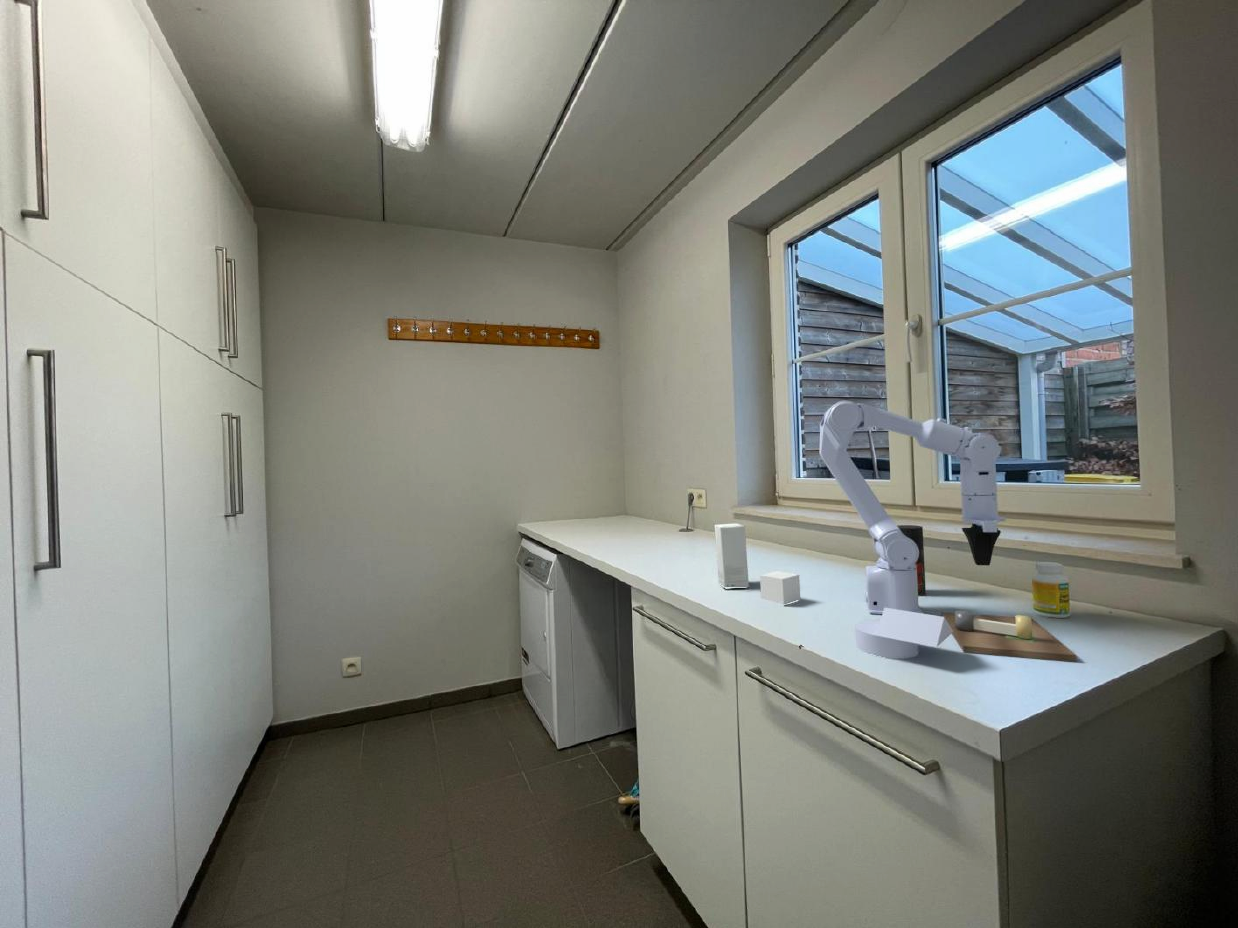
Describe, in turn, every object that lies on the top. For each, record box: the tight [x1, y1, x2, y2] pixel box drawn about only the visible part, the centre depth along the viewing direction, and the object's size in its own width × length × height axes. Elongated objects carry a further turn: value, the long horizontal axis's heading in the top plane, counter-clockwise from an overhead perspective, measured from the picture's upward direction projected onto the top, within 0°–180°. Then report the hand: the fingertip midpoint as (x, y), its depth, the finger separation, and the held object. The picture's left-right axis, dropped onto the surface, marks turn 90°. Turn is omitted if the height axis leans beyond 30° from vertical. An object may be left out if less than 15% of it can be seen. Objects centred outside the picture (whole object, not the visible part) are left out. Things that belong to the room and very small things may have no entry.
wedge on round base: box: [854, 608, 953, 660], centre depth 82 cm, size 9×7×13 cm
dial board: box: [940, 611, 1078, 663], centre depth 87 cm, size 14×19×1 cm
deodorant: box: [896, 524, 927, 597], centre depth 117 cm, size 6×6×15 cm
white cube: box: [759, 570, 801, 605], centre depth 115 cm, size 6×6×6 cm
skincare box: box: [714, 523, 750, 588], centre depth 131 cm, size 8×7×16 cm
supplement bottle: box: [1031, 561, 1071, 619], centre depth 97 cm, size 5×5×10 cm
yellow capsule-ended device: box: [954, 610, 1032, 639], centre depth 86 cm, size 10×3×3 cm, turn 46°
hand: (982, 564), depth 100 cm, fingers closed
